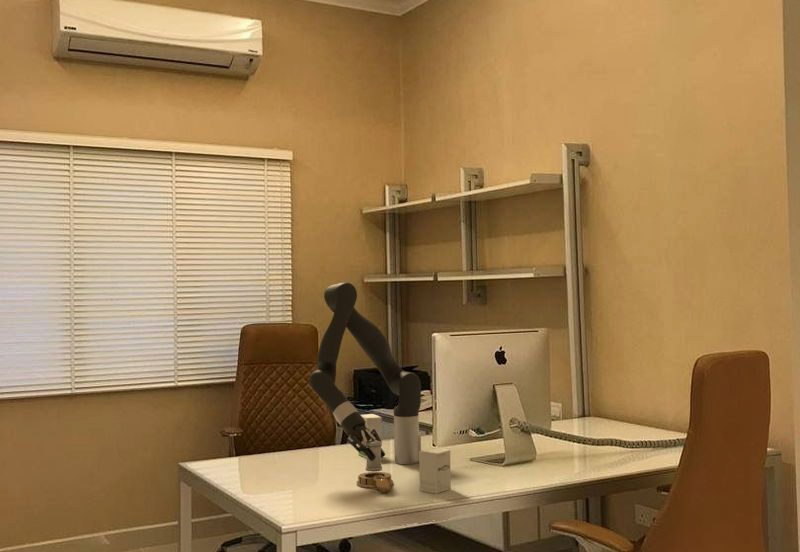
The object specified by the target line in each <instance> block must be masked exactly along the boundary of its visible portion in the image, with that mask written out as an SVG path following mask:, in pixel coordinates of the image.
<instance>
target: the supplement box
mask: <svg viewBox="0 0 800 552" xmlns="http://www.w3.org/2000/svg"><path fill="white" fill-rule="evenodd" d="M418 464H419V467H418V468H419V491H422V492H425V493H432V494H436V493H437V494H439V493H442V492H445V491H450V490H452V489H451V487H452V486H451V485H452V482H451V479H452V477H451V471H452V469H451V450H450V449H444V448H437V447H431V448H427V449H424V450H421V451H419V462H418Z"/></svg>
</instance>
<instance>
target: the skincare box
mask: <svg viewBox="0 0 800 552" xmlns="http://www.w3.org/2000/svg"><path fill="white" fill-rule="evenodd" d="M360 415H361V416H362V417H363V419H364V420H365V422H366V423H365V427H366V428H368V429H369V430H370V431H372V430H373V429H375V430H376V432H377V434H378V436H379V437H380V439H381V440H382V419H383V418H382V416H379V415H378V414H374V413H369V414H360ZM371 440H372V439H370V440H369V441H371ZM376 441H377V440H376ZM357 452H358V451H357ZM358 455H359V456H361V457H363V458H365V459H366V454H365V453H363V452H362V451H360V452H358Z"/></svg>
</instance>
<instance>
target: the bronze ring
mask: <svg viewBox="0 0 800 552" xmlns="http://www.w3.org/2000/svg"><path fill="white" fill-rule="evenodd" d="M393 484H394V480H393V479H392V474H391V473H389V472H385V471H384V472H382V471H375V472H372V471H366V472H363V473H360V474H359V475H358V476H357V481H356V486H357V487H359V488H364V489H377V490H378V491H380V492H381V494H383V495H387V494H390V493H391V492H392V491H393Z"/></svg>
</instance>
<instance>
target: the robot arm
mask: <svg viewBox="0 0 800 552" xmlns="http://www.w3.org/2000/svg"><path fill="white" fill-rule="evenodd" d="M323 297H324V301H325V304H326V305H327V307H328V308H329V309H330V311H331V312H333V316H332V319H331V321H330V322H329V325H328V326H327V328H326V330H325V332H324V334H323V336H322V338H321V341H320V345H319V348H318V353H317V357H316V361H317V363H318V369H317V370H314V371H312V372H311V374H310V376H309V385H310V387H311V388H312V389H313V391H314V392H315V393H316V395H317V396H318V397H319V398H320V399H321V400H322V401H323V402H324V404H325V405H326V406H327V409H328V410H329V411H330V412H331V413H332V414H331V415H333V416H334V418H335V421H336V422H337V423H338V424H339V426H340V427H341V429H342V430H343V432H344V433H345V434H346V435H347V436H348V438H347V439H346V440H347V442H348V443H349V444H350V445H351V446H352V447H353V449H355V450H356V452H360V451H362V452H363V453H365V454H366V455H367V457H368V458H369V459H370V461H373V460H374V459H375V458H376V456H375V454H374V453H373V452H372V450H371V449H370V448H369V447H368V445H367V444H366V443H367V442H368V441H369V440H370V439H372V440H371V441H376V440H377V441H381V442H382V443H383V441H382V438H381V439H380V437H379V436H378V434H377V432H376V430H375V429H373V430H372V431H370V430H369V429H368V428H366V427H365V423H366V422H365V420H364V419H363V417H362V416H361V415H362V414H360V412H359V410H358V409H357V408H356V407H355V406H354V405H353V404H352V403H351V401H349V399H348V398H347V396H346V395H345V394H344V392H343V391H341V390H340V389H339V388H338V387H337V385H336V378H337V361H338V358H339V355H340V349H341V344H342V341H343V337H344V334H345V332H346V329H347V330H348V332H349V333H350V334H351V335H352V336H353V338H354V339H355V340H356V342H357V343H358V345H359V347H360V348H361V349H362V351H364V353H365V354H366V356H367V357H368V358H369V359H370V361H371V362H372V363H373V365H374V366H375V368H376V369H377V370H378V371H379V373H380V374H381V376H382V377H383V378H384V380H385V382H386V384H387V386H388V387H389V390H390V391H391V392H392V393H393V394H394V395H395V396H398V403H397V406H395V407H394V408H393V436H394V437H393V438H394V441H393V444H394V446H393V447H394V451H393V452H394V463H396V464H399V465H400V464H401V465H411V464H412V465H413V464H419V451H422V442H421V441H422V437H421V435H420V427H419V426H420V423H419V422H420V418H419V414H420V413H419V412H420V408H421V403H422V401H421V400H422V385H421V384H422V383H421V380H420V378H419V376H418V375H417V374H416V373H414V372H410V371H406V370H404V369H402V368H401V366H400V365H399V364H398V363H397V361H396V360H395V358H394V357H393V355H392V351H391V347H390V343H389V341H388V339H387V338H386V336H385V335H384V333H383V332H382V331H381V330H380V328H379V327H378V326H377V325H376V324H374V323H373V321H371V320H369V319H368V318H367V317H365V316H364V315H362V314H361V313H360V312H359V311H358V310H356V308H355V305H356V302H357V299H358V291H357V289H356V287H355V286H354V284H352V283H350V282H339V283H335V284H331V285H329V286H328V287H326V289H325V290H324V292H323ZM385 456H386V452H385V451H384V450H383V449H382V447H381V459H383V458H384V457H385Z"/></svg>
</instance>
